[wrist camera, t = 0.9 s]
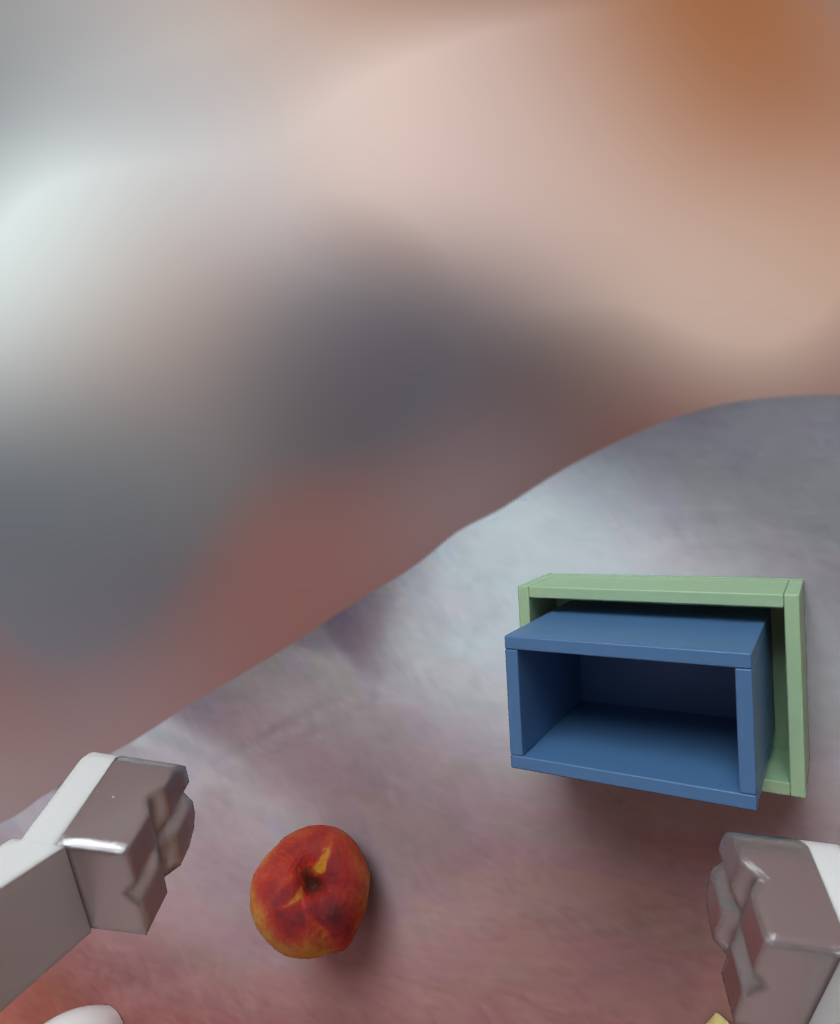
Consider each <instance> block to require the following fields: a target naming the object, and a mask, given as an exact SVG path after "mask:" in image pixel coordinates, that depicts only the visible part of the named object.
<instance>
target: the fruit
mask: <svg viewBox="0 0 840 1024" xmlns="http://www.w3.org/2000/svg"><path fill="white" fill-rule="evenodd" d="M369 888H370V872H369V868H368V865H367V863H366V861H365V858H364V856H363V854H362V852H361V851H360V849H359V847H358V846H357V844H356V843H355V841H354V840H353V839H352V838H351V837H350V836H349V835H348V834H347V833H345V832H344V831H342V830H340V829H338V828H336V827H332V826H326V825H314V826H308V827H305V828H302V829H299V830H297V831H295V832H293V833H291V834H289V835H287V836H286V837H284V838H283V839H282V840H281V841H280V842H279V844H278V845H277V846H276V847H275V848H274V849H273V850H272V851H271V852H269V853H268V854H267V855H266V857H265V858H264V859H263V861H262V862H261V864H260V865H259V867H258V868H257V870H256V871H255V873H254V875H253V879H252V882H251V890H250V910H251V914H252V917H253V920H254V922H255V925H256V927H257V929H258V930H259V932H260V934H261V935H262V936H263V937H264V939H265V940H266V941H267V942H268V943H269V944H270V945H271V946H272V947H273V948H274V949H275V950H277V951H278V952H280V953H281V954H283V955H285V956H288V957H292V958H299V959H311V958H317V957H320V956H323V955H325V954H329V953H337V952H340V951H343V950H345V949H346V948H347V947H348V946H349V945H350V944H351V942H352V940H353V938H354V935H355V933H356V930H357V927H358V926H359V924H360V923H361V921H362V920H363V918H364V915H365V913H366V908H367V902H368V895H369Z"/></svg>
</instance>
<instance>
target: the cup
mask: <svg viewBox="0 0 840 1024" xmlns="http://www.w3.org/2000/svg"><path fill="white" fill-rule="evenodd" d="M44 1024H123V1021H122V1019H121V1017H120V1016H119V1014H118V1013H117V1011H116V1010H115V1009H114V1008H113V1007H111V1006H109V1005H88V1006H82V1007H78V1008H74V1009H71V1010H68V1011H66V1012H64V1013H61V1014H59V1015H57V1016H55V1017H54V1018H52V1019H50V1020H49V1021H47V1022H45V1023H44Z"/></svg>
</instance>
